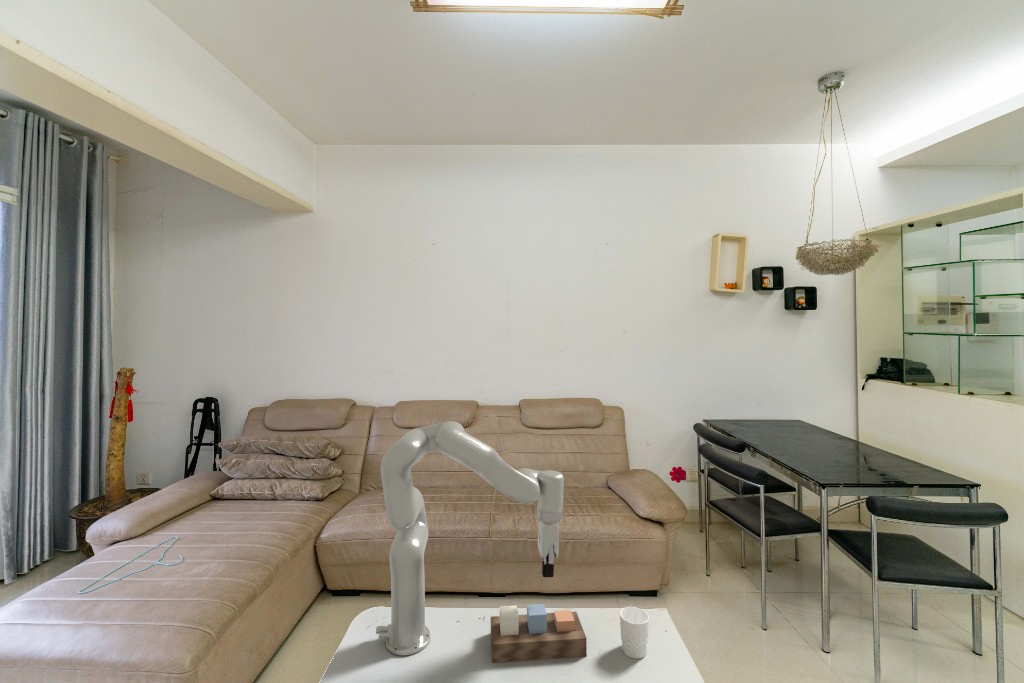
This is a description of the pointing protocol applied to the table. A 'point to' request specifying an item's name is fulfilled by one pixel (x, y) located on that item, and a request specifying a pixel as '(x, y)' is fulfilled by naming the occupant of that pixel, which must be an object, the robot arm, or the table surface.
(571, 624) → the peach block
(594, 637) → the table surface
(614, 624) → the table surface
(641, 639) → the white cup
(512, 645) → the brown long flat block
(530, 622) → the slate key
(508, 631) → the cream key
